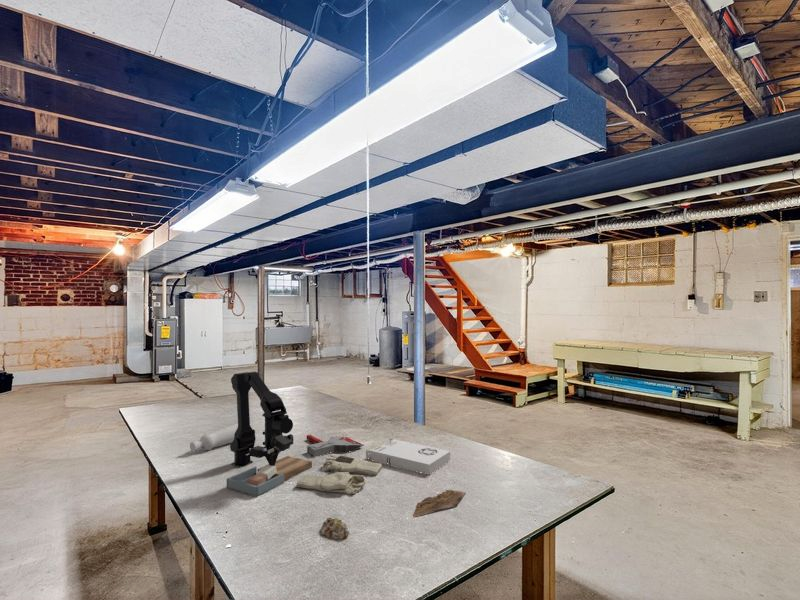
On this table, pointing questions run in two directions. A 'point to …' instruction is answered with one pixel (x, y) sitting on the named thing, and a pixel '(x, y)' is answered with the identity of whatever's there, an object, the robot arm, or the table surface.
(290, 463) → the board
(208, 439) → the bottle
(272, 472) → the cream tile
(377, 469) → the pair of gloves
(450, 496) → the wooden fragment
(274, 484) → the tray
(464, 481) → the table surface
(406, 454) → the power supply unit
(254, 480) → the terracotta tile
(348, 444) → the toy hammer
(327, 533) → the mineral rock
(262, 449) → the robot arm
